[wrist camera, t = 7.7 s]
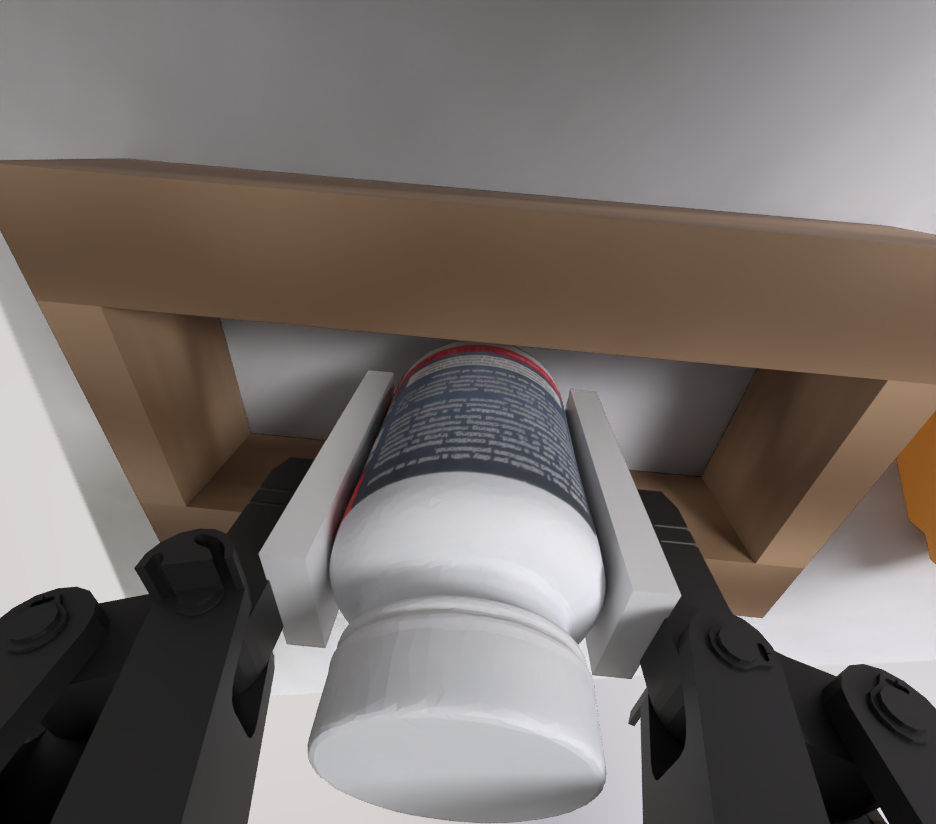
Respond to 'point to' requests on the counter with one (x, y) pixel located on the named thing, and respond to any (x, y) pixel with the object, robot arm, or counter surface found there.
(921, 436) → the bracket
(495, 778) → the pill bottle
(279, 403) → the counter surface
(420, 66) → the counter surface
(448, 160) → the counter surface
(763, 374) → the brown open rectangular frame
